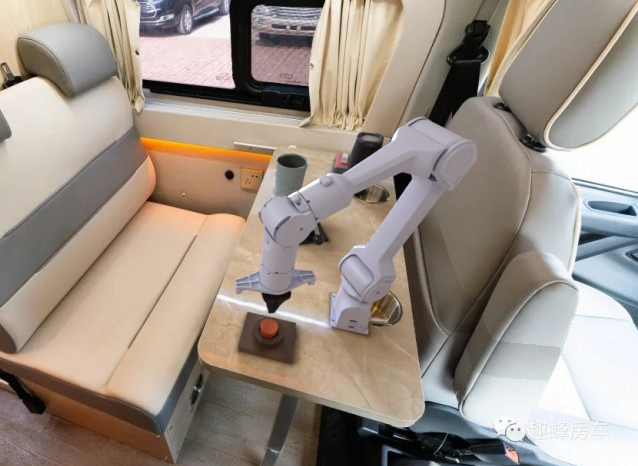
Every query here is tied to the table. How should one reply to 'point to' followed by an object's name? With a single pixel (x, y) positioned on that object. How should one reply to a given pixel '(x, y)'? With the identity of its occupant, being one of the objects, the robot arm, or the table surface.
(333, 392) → the table surface
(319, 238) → the lever
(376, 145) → the portable speaker
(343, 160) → the walkie-talkie
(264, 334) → the button
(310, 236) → the bracket
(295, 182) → the green cup
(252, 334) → the button block
